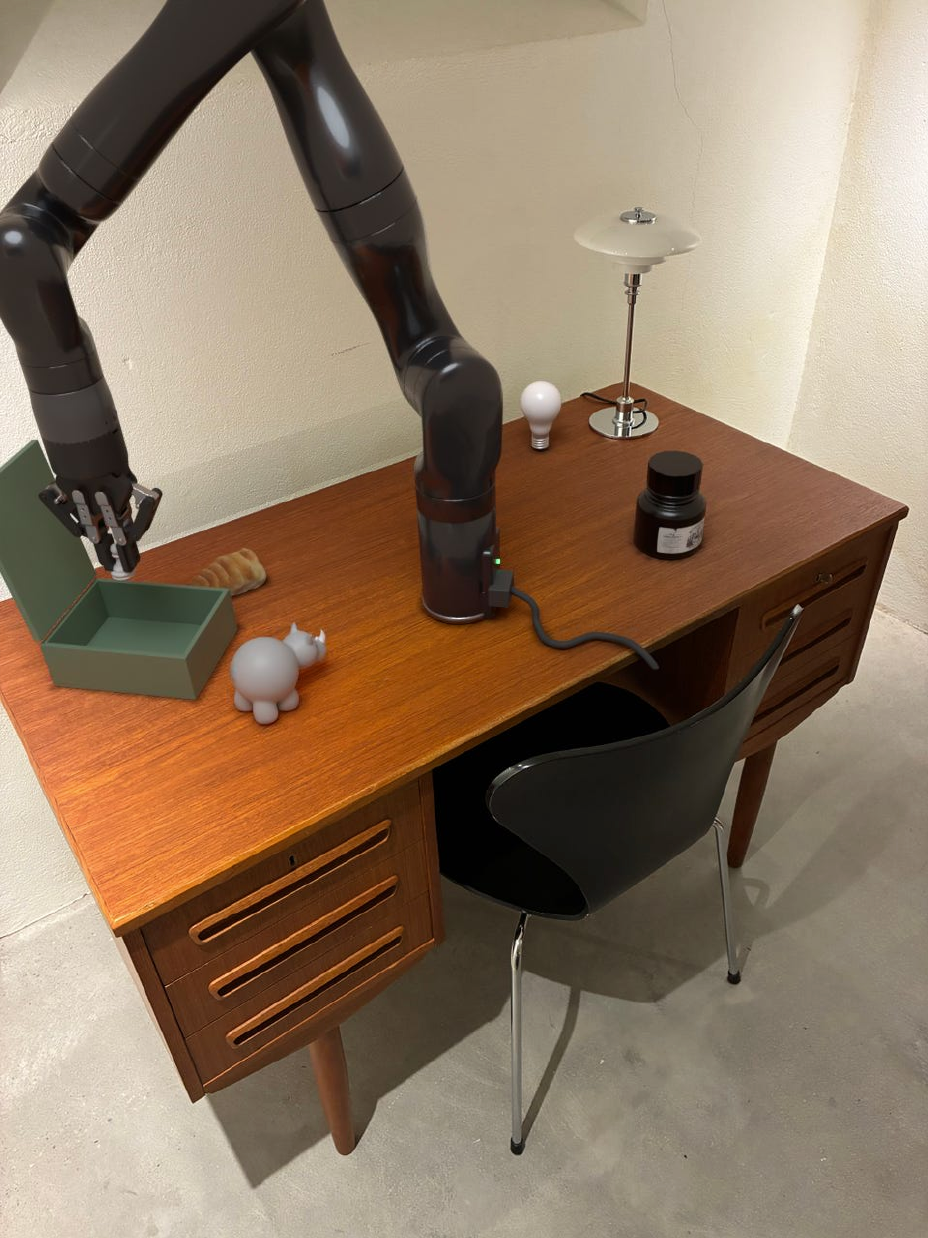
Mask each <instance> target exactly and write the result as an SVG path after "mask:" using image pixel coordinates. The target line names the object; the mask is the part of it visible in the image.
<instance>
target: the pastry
mask: <svg viewBox="0 0 928 1238" xmlns="http://www.w3.org/2000/svg"><path fill="white" fill-rule="evenodd" d="M266 579H267V574H266V570H265V569H264V567H263V565H262V564H261V562H260V561H259V558H258V556H257V555H256V554H255V552H254V551H253V550H252V549H251V548H245V547H242V548H240V549H239V550H238V551H235V552H232V553H228V554H225V555H220V556H218V557H216V558H215V559H214V561H213V562H211V563H210V564H209V565H208V566H207V567H204V568H202V569H201V570H200V571H199V572H197V573H196V574H195V575H194V577H192V578H191V580H190V584H189V586H201V587H214V588H227V589H230V593H231V597H234V596H238V595H242V594H244V593H247V592H248V591H250V590H256V589H258V588H260V587H261V586H262V585H263V584H264V583H265V581H266Z"/></svg>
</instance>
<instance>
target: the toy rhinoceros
mask: <svg viewBox="0 0 928 1238" xmlns="http://www.w3.org/2000/svg"><path fill="white" fill-rule="evenodd" d="M325 642H326V634H325V632H324V631H323V630H322V629H320V633H319V636H315V637H314V636H313V634H312V633H308V632H306V631H305V630H299V629H298V627H297V623H296V622H292V623H291V626H290V632H289V633H288V635H286V636H285V638H284V639H283V641H282V640H279V639H278V638H275V637H271V636H259V637H255V638H252V639H250V640H248V641H246V642H244V643H243V644H242V645H240V647H239V648H238V649H237V650H236V651H235V653H234V654H233V656H232V659H231V662H230V668H229V673H230V679H231V683H232V685H233V687H234V689H235V692H234V695H233V703H234V706H235V708H236V709H237V710H238V711H241V712H251V711H252V712H253V716H254V719H255V721H256V722H257V723H258V724H259V725H268V724H273V723H274V722H275V721H276V720H277V719H278V717H279V711H284V712H288V711H293V710H294V709H296V708H297V707H298V705H299V703H300V702H299V701H300V696H299V693H298V691H297V689H296V688H295V686H296V685H297V683H298V678H299V674H300V673H299V671H300V670H305V669H307V668H310V667H311V666H313V665H314V664H316V663H320V662H321V661H322V660H324V658H325V656H326V653H327V646H326V645H325Z"/></svg>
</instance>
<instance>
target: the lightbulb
mask: <svg viewBox="0 0 928 1238" xmlns="http://www.w3.org/2000/svg"><path fill="white" fill-rule="evenodd" d="M562 403H563V399H562V395H561V392H560V390H559V388H557V386H555V385H554V384H553V383H551V382H549V381H547V380H546V381H545V380H536V381H533V382H531V383H530V384H528V385H527V386H525V388H524V389H523V390H522V392H521V394H520V399H519V407H520V410H521V413H522V415H523V416H524V418H525V419H526V421H527V422H528V425H529V429H530V431H531V447H532V448H533V449H535V450H537V451H542V450H545V449H547V448H549V446H550V443H549V442H550V431H551V429H552V425H553V423H554V421H555V419H556V418H557V417H558V415H559V413H560V411H561V409H562Z"/></svg>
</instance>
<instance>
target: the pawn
mask: <svg viewBox="0 0 928 1238" xmlns="http://www.w3.org/2000/svg"><path fill="white" fill-rule="evenodd" d="M116 544H117V543H116V542H115V543H114V544H112V545H111V547H110V550H111V552H112V557H114V558H116V564H115V565H114V567H113V571H110V575H111V577H112V579H114V580H119V581H121V580H126V581H128V580H129V579H131V578H133V577H134V576H135V575H136V568H135V569H134V570H133V571H132V572H131V573H128V572H124V571H123V569H122V566H121V562H120V559H119V556H118V552H117V549H116V546H115V545H116Z"/></svg>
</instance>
